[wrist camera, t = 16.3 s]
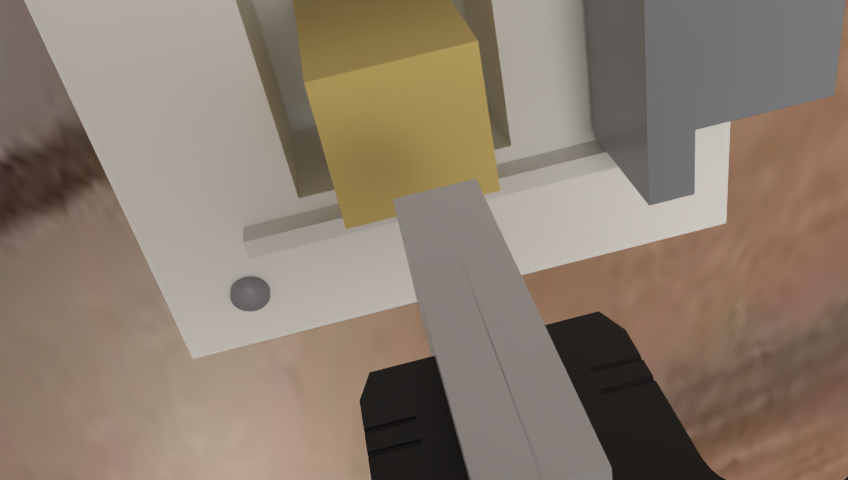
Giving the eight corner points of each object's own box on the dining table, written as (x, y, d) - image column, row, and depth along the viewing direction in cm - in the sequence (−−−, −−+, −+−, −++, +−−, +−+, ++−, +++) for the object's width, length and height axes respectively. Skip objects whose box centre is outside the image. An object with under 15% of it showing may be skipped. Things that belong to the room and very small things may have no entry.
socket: (-4, -212, 21) (-80, -188, 16) (657, -358, 22) (769, -377, 17) (201, 270, 30) (191, 375, 25) (663, 154, 31) (738, 236, 26)
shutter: (578, -106, 20) (642, -69, 17) (839, -168, 20) (954, -144, 17) (594, 136, 24) (649, 205, 20) (814, 82, 24) (902, 141, 21)
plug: (290, -18, 25) (303, 82, 18) (418, -48, 25) (478, 40, 18) (323, 101, 27) (346, 229, 20) (440, 72, 27) (500, 190, 20)
